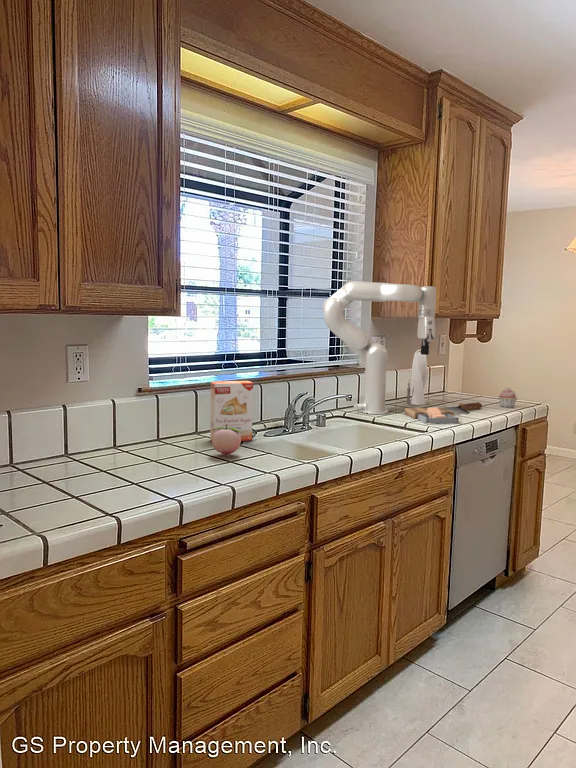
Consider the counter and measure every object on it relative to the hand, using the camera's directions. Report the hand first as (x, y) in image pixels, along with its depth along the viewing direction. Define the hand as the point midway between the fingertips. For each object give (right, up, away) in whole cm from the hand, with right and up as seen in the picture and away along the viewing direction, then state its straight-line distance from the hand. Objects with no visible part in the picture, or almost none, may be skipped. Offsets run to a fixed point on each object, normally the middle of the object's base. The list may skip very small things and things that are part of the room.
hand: (424, 354), depth 261 cm
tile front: (+1, -27, -20) cm, 34 cm away
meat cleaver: (+19, -28, +6) cm, 34 cm away
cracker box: (-82, -34, -59) cm, 107 cm away
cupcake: (+47, -25, +24) cm, 58 cm away
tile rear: (0, -27, -15) cm, 31 cm away
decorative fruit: (-82, -36, -81) cm, 121 cm away
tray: (+1, -30, -18) cm, 35 cm away
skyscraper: (+3, -24, +27) cm, 36 cm away
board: (0, -28, -7) cm, 29 cm away
